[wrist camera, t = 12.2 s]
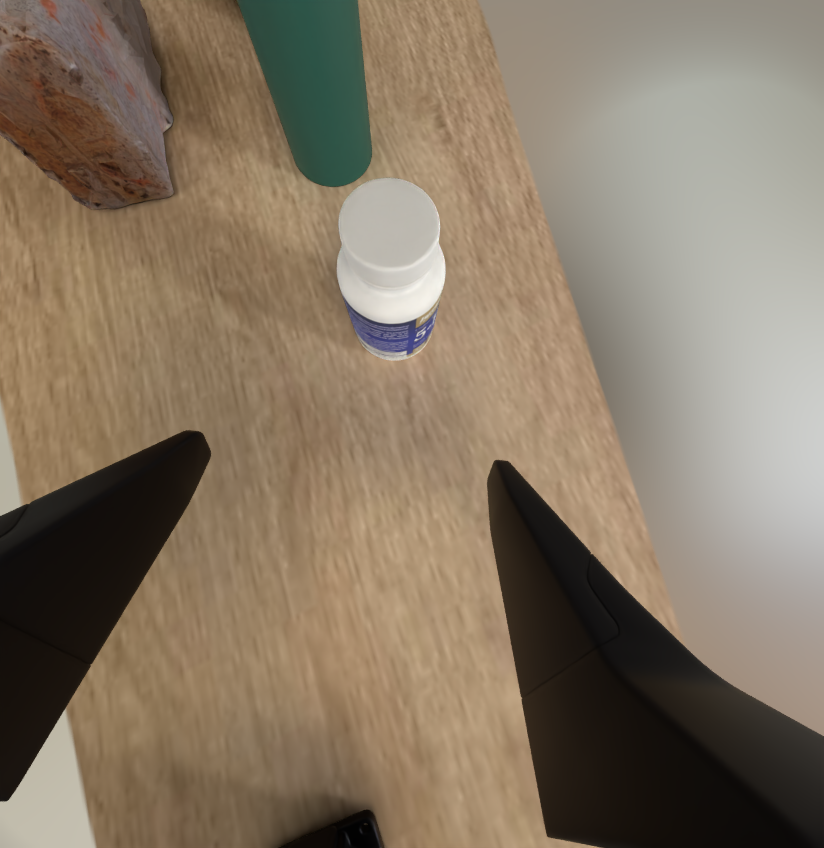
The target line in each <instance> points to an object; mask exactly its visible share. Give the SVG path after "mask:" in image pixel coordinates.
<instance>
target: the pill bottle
mask: <svg viewBox="0 0 824 848" xmlns="http://www.w3.org/2000/svg"><path fill="white" fill-rule="evenodd" d="M338 227H339V234H340V239H341V243H342V247H341V249H340V252H339V255H338V259H337V278H338V283H339V286H340V290H341V293H342V296H343V298H344V301H345V304H346V307H347V310H348V313H349V315H350V318H351V321H352V324H353V327H354V329H355V332H356V335H357V337H358V339H359V341H360V342H361V344H362V345H363V346H364V348H365V349H366V350H368V351H369V352H370V353H372V354H373V355H375V356H377V357H379V358H382V359H385V360H393V361H396V360H403V359H407V358H410V357H412V356H414V355H416V354H417V353H418V352H420V351H421V350H422V349H423V348H424V347H425V345H426V344H427V342H428V341H429V339H430V337H431V334H432V331H433V327H434V323H435V318H436V314H437V310H438V306H439V302H440V298H441V294H442V291H443V287H444V281H445V273H446V269H445V260H444V255H443V252H442V250H441V248H440V245H439V243H438V242H439V233H440V220H439V215H438V212H437V209H436V207H435V205H434V203H433V201H432V200H431V198H430V197H429V196H428V195H427V194H426V193H425V192H424V191H423V190H422V189H421V188H420V187H418V186H416V185H415V184H413V183H411V182H408V181H405V180H402V179H399V178H379V179H374V180H370V181H368V182H365V183H363V184H362V185H360V186H359V187H357V188H356V189H355V190H354V191H352V192H351V193H350V195H349V196H348V197H347V198H346V200H345V201H344V203H343V206H342V208H341V211H340V214H339V223H338Z"/></svg>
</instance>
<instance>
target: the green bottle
mask: <svg viewBox="0 0 824 848" xmlns="http://www.w3.org/2000/svg"><path fill="white" fill-rule="evenodd" d="M237 2H238V4H239V7H240V10H241V13H242V15H243V18H244V21H245V24H246V27H247V29H248V32H249V35H250V38H251V40H252V43H253V46H254V49H255V52H256V54H257V57H258V60H259V63H260V65H261V68H262V71H263V74H264V77H265V79H266V82H267V85H268V88H269V90H270V93H271V96H272V99H273V102H274V104H275V107H276V110H277V113H278V115H279V118H280V121H281V124H282V127H283V129H284V132H285V135H286V138H287V140H288V143H289V146H290V149H291V152H292V154H293V157H294V160H295V162H296V165H297V167H298V168H299V170H300V171H301V172H302V174H303V175H305V176H306V177H307V178H308V179H310V180H311V181H313V182H315V183H317V184H320V185H324V186H330V187H336V186H343V185H346V184H349V183H351V182H353V181H355V180H357V179H358V178H359V177H361V176H362V175H363V174H364V172H365V171H366V170H367V168H368V166H369V164H370V161H371V157H372V145H371V134H370V124H369V113H368V103H367V93H366V82H365V72H364V61H363V51H362V41H361V30H360V20H359V9H358V0H237Z"/></svg>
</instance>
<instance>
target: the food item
mask: <svg viewBox="0 0 824 848" xmlns="http://www.w3.org/2000/svg"><path fill="white" fill-rule="evenodd" d="M160 80H161V68H160V66H159V64H158V62H157V60H156V58H155V56H154V54H153V52H152V46H151V38H150V29H149V26H148V23H147V16H146V13H145V10H144V9H143V7H142V5H141V1H140V0H0V135H1V136H2V137H4V138H5V139H7V140H8V141H9V142H10V143H11V144H13V145H14V146H15V147H16V148H17V149H19V150H20V151H21V153H22V154H23V155H24V156H26V157H27V158H28V159H29V160H30V161H32V162H33V163H34V164H35V165H36V166H38V167H39V168H40V169H41V170H42V171H43V172H44V173H45V174H46V175H47V176H48V177H49V178H51V179H53V180H56V181H57V182H58V183H59V184H60V185H62V186H63V187H64V188H65V189H66V190H68V191H69V192H70V193H71V195H72V197H73V199H74V200H75V201H77V202H79V203H81V204H82V205H84V206H86V207H88V208H89V209H102V208H109V209H114V208H120V207H123V206H126V205H129V204H132V203H138V202H142V201H146V200H151V199H163V198H167V197H169V196H171V195H172V194H173V193H174V192H173V188H172V184H171V180H170V176H169V171H168V166H167V163H166V156H165V146H164V137H163V132H164V131H166V130H167V129H168V128H169V127H171V126H172V123H173V115H172V114H171V112H170V110H169V106H168V102H167V99H166V98H165V96H164V95H163V94H162V92H161V87H160ZM85 204H86V205H85Z"/></svg>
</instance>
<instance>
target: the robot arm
mask: <svg viewBox="0 0 824 848" xmlns="http://www.w3.org/2000/svg"><path fill="white" fill-rule="evenodd" d="M210 457H211V450H210V448H209V446H208V443H207V441H206V439H205V437H204V435H203V433H201V432H199V431H191V430H186V431H183V432H181V433H179V434H177V435H174V436H172V437H170V438H168V439H166V440H164V441H161V442H159V443H157V444H155V445H153V446H151V447H149V448H146V449H144V450H142V451H140V452H138V453H136V454H133V455H131V456H129V457H127V458H125V459H123V460H121V461H118V462H116V463H114V464H112V465H110V466H108V467H105V468H103V469H101V470H99V471H97V472H95V473H93V474H90V475H88V476H86V477H84V478H82V479H80V480H77V481H75V482H73V483H71V484H69V485H67V486H65V487H62V488H60V489H58V490H56V491H54V492H52V493H49V494H47V495H45V496H43V497H41V498H39V499H37V500H34V501H32V502H31V503H30V504H26V505H23V506H21V507H19V508H17V509H15V510H13V511H11V512H8V513H6V514H4V515H2V516H0V801H8V800H9V799H10V797H11V796H12V794H13V793H14V792H15V790H16V788H17V787H18V785H19V784H20V782H21V781H22V779H23V777H24V776H25V774H26V773H27V771H28V769H29V768H30V766H31V764H32V763H33V761H34V759H35V758H36V756H37V754H38V753H39V751H40V749H41V748H42V746H43V744H44V743H45V741H46V739H47V738H48V736H49V734H50V733H51V731H52V730H53V728H54V726H55V724H56V723H57V721H58V720H59V718H60V716H61V715H62V713H63V711H64V710H65V708H66V706H67V705H68V703H69V701H70V700H71V698H72V696H73V695H74V693H75V691H76V690H77V688H78V687H79V685H80V683H81V682H82V680H83V678H84V677H85V675H86V673H87V672H88V670H89V668H90V667H91V665H90V664H92V663H93V661H94V660H95V658H96V656H97V655H98V653H99V651H100V650H101V648H102V646H103V645H104V643H105V641H106V640H107V638H108V637H109V635H110V633H111V632H112V630H113V628H114V627H115V625H116V623H117V622H118V620H119V618H120V617H121V615H122V613H123V612H124V610H125V608H126V607H127V605H128V603H129V602H130V600H131V599H132V597H133V595H134V594H135V592H136V590H137V589H138V587H139V585H140V584H141V582H142V580H143V579H144V577H145V575H146V574H147V572H148V570H149V569H150V567H151V565H152V564H153V562H154V561H155V559H156V557H157V556H158V554H159V552H160V551H161V549H162V547H163V546H164V544H165V542H166V541H167V539H168V537H169V536H170V534H171V532H172V531H173V529H174V527H175V526H176V524H177V522H178V521H179V519H180V518H181V516H182V514H183V513H184V511H185V509H186V508H187V506H188V504H189V502H190V500H191V498H192V496H193V494H194V492H195V490H196V488H197V486H198V484H199V482H200V479H201V477H202V475H203V473H204V471H205V469H206V466H207V464H208V462H209V460H210ZM487 489H488V505H489V520H490V531H491V537H492V542H493V548H494V553H495V559H496V564H497V569H498V575H499V580H500V586H501V591H502V596H503V602H504V607H505V613H506V618H507V623H508V629H509V634H510V640H511V645H512V651H513V656H514V661H515V667H516V672H517V678H518V683H519V688H520V694H521V697H522V705H523V711H524V716H525V722H526V727H527V733H528V738H529V743H530V749H531V754H532V760H533V765H534V770H535V776H536V781H537V787H538V792H539V798H540V803H541V808H542V814H543V819H544V824H545V829H546V833H547V837H550V838H555V839H560V840H565V841H571V842H576V843H581V844H586V845H591V846H597V847H602V848H824V736H822V735H820V734H818V733H817V732H815V731H813V730H811V729H809V728H807V727H806V726H804V725H802V724H800V723H799V722H797V721H795V720H793V719H791V718H790V717H788V716H786V715H784V714H782V713H781V712H779V711H777V710H775V709H773V708H772V707H770V706H768V705H766V704H764V703H763V702H761V701H759V700H757V699H755V698H754V697H752V696H750V695H748V694H746V693H745V692H743V691H741V690H739V689H738V688H736V687H734V686H733V685H731V684H729V683H728V682H727V681H725V680H724V679H722V678H721V677H719V676H718V675H717V674H715V673H714V672H713V671H711V670H710V669H709V668H708V667H707V666H705V665H704V664H703V663H702V662H701V661H699V660H698V659H697V658H696V657H695V656H694V655H693V654H692V653H691V652H690V651H689V650H688V649H687V648H686V647H685V646H684V645H683V644H681V643H680V642H679V641H678V640H677V639H676V638H675V637H674V636H673V635H672V634H671V633H670V632H669V631H668V630H667V629H666V628H665V627H664V626H663V625H662V624H661V623H660V622H659V621H658V620H657V619H655V618H654V617H653V616H652V615H651V614H650V613H649V612H648V611H647V610H646V609H645V608H644V607H643V606H642V605H641V604H640V603H639V602H638V601H637V600H636V599H635V598H634V597H633V596H632V595H631V594H630V593H629V592H628V591H627V590H626V589H625V588H624V587H623V586H622V585H621V584H620V583H619V582H618V581H617V580H616V579H615V578H614V577H613V576H612V575H611V574H610V572H609V571H608V570H607V569H606V568H605V567H604V566H603V565H602V564H601V563H600V562H599V561H598V559H597V558H596V557H595V556H594V555H593V554H591V552H590V551H589V550H588V549H587V547H586V546H585V545H584V544H583V543H582V542H581V541H580V540H579V539H578V537H577V536H576V535H575V534H574V533H573V532H572V531H571V530H570V529H569V528H568V526H567V525H566V524H565V523H564V522H563V521H562V520H561V519H560V518H559V516H558V515H557V514H556V513H555V512H554V511H553V510H552V509H551V508H550V507H549V505H548V504H547V503H546V502H545V501H544V500H543V499H542V498H541V497H540V495H539V494H538V493H537V492H536V491H535V490H534V489H533V488H532V487H531V486H530V484H529V483H528V482H527V481H526V480H525V479H524V478H523V477H522V476H521V474H520V473H519V472H518V471H517V470H516V469H515V468H514V467H513V466H512V465H511V463H510V462H508V461H503V460H495V461H494V463H493V465H492V468H491V470H490V473H489V476H488V480H487ZM364 823H367V824H368V825H364ZM279 848H384V845H383V842H382V838H381V835H380V832H379V828H378V825H377V822H376V819H375V816H374V814H373V812H371V811H370V810H363V811H361V812H359V813H356V814H354V815H352V816H350V817H347V818H345V819H343V820H341V821H338V822H336V823H334V824H331V825H329V826H327V827H325V828H322V829H320V830H318V831H316V832H313V833H311V834H309V835H306V836H304V837H302V838H300V839H297V840H295V841H293V842H290V843H288V844H286V845H284V846H281V847H279Z"/></svg>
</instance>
